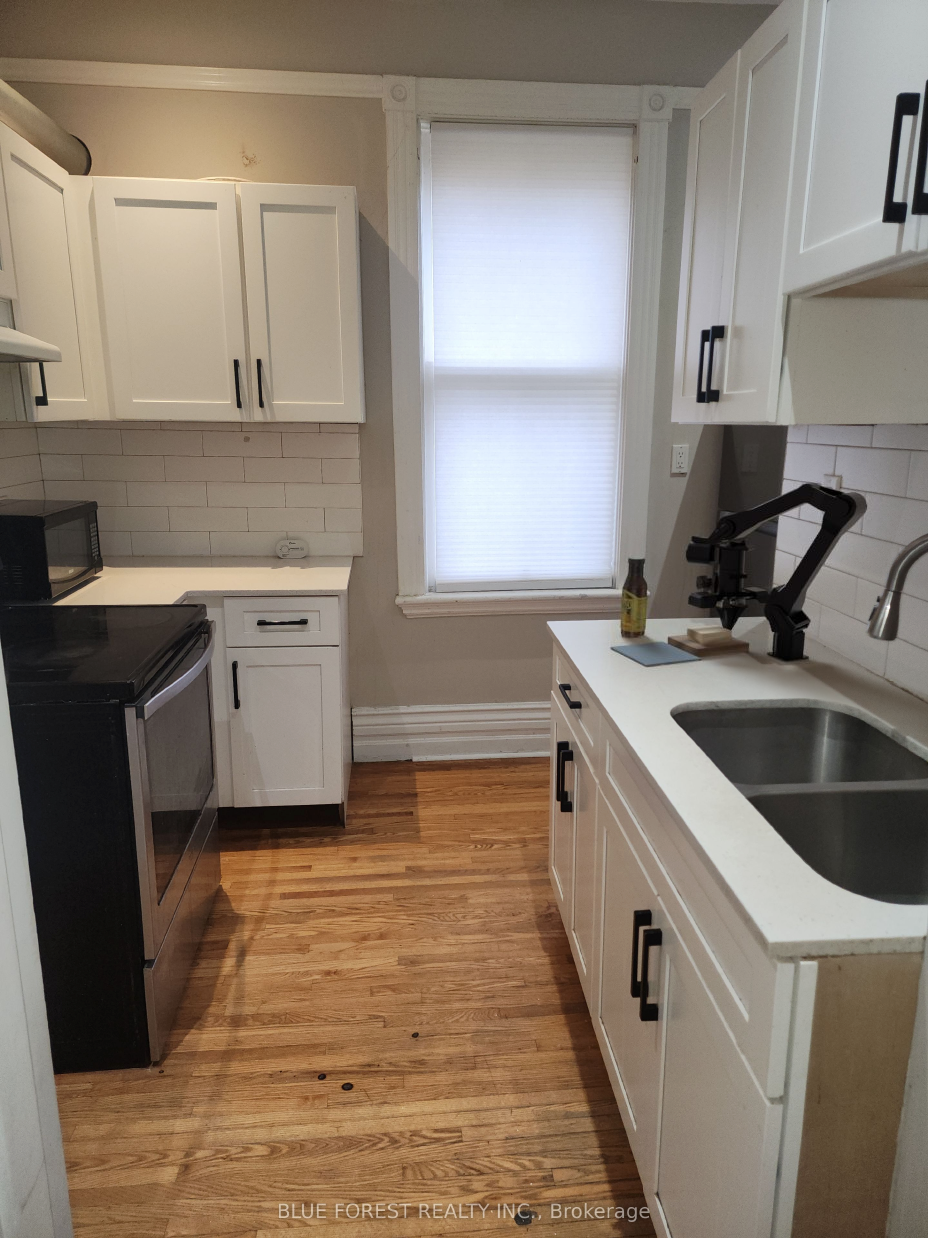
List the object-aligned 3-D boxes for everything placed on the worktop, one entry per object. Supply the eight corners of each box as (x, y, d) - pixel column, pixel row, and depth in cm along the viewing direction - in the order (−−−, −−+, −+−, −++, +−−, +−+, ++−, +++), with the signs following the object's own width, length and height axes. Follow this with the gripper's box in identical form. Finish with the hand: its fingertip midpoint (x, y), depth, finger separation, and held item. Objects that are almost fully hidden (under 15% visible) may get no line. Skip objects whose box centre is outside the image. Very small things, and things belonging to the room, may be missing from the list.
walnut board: (748, 651, 187) (749, 643, 187) (696, 657, 183) (697, 649, 182) (717, 639, 198) (717, 631, 198) (667, 644, 194) (667, 636, 193)
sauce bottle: (616, 633, 206) (618, 555, 201) (639, 631, 207) (642, 554, 202) (626, 639, 200) (628, 559, 195) (649, 637, 201) (653, 558, 196)
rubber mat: (701, 660, 181) (701, 658, 181) (645, 666, 177) (645, 664, 177) (662, 642, 196) (662, 641, 196) (610, 648, 191) (610, 646, 191)
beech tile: (731, 641, 189) (731, 630, 188) (701, 644, 186) (702, 633, 186) (715, 635, 194) (716, 625, 194) (686, 638, 192) (687, 628, 191)
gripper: (743, 560, 198) (739, 622, 202) (676, 565, 193) (673, 629, 196) (773, 567, 188) (768, 632, 191) (703, 573, 182) (700, 640, 186)
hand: (727, 633), depth 191 cm, fingers closed
